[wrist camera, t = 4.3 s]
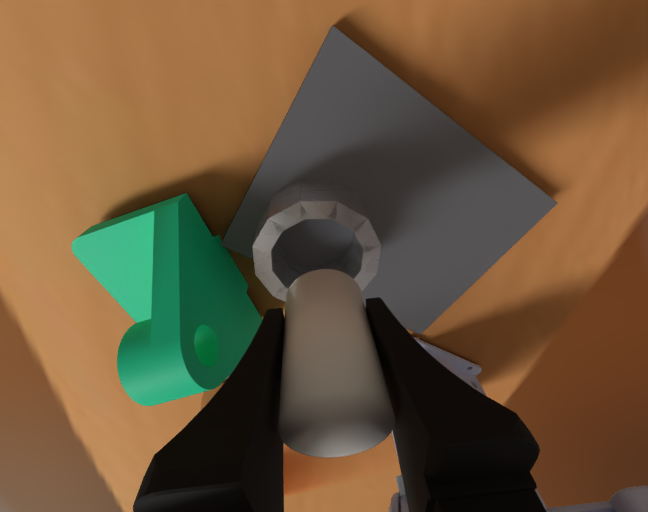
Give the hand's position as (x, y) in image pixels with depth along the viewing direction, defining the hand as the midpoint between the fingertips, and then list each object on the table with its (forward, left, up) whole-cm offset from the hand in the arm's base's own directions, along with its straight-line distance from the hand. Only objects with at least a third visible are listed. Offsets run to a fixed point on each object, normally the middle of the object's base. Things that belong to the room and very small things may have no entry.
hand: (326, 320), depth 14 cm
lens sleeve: (0, 0, -9) cm, 9 cm away
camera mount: (+6, +9, -10) cm, 14 cm away
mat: (-4, -3, -9) cm, 11 cm away
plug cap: (0, 0, -1) cm, 1 cm away
